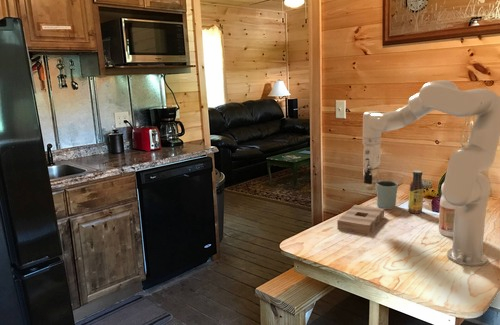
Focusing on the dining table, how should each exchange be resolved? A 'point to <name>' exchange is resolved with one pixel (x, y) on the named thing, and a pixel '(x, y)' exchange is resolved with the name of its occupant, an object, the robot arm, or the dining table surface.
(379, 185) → the grey green cup
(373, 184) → the wooden peg
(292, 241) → the dining table surface
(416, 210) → the sauce bottle
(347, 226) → the walnut slab
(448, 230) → the fruit juice
